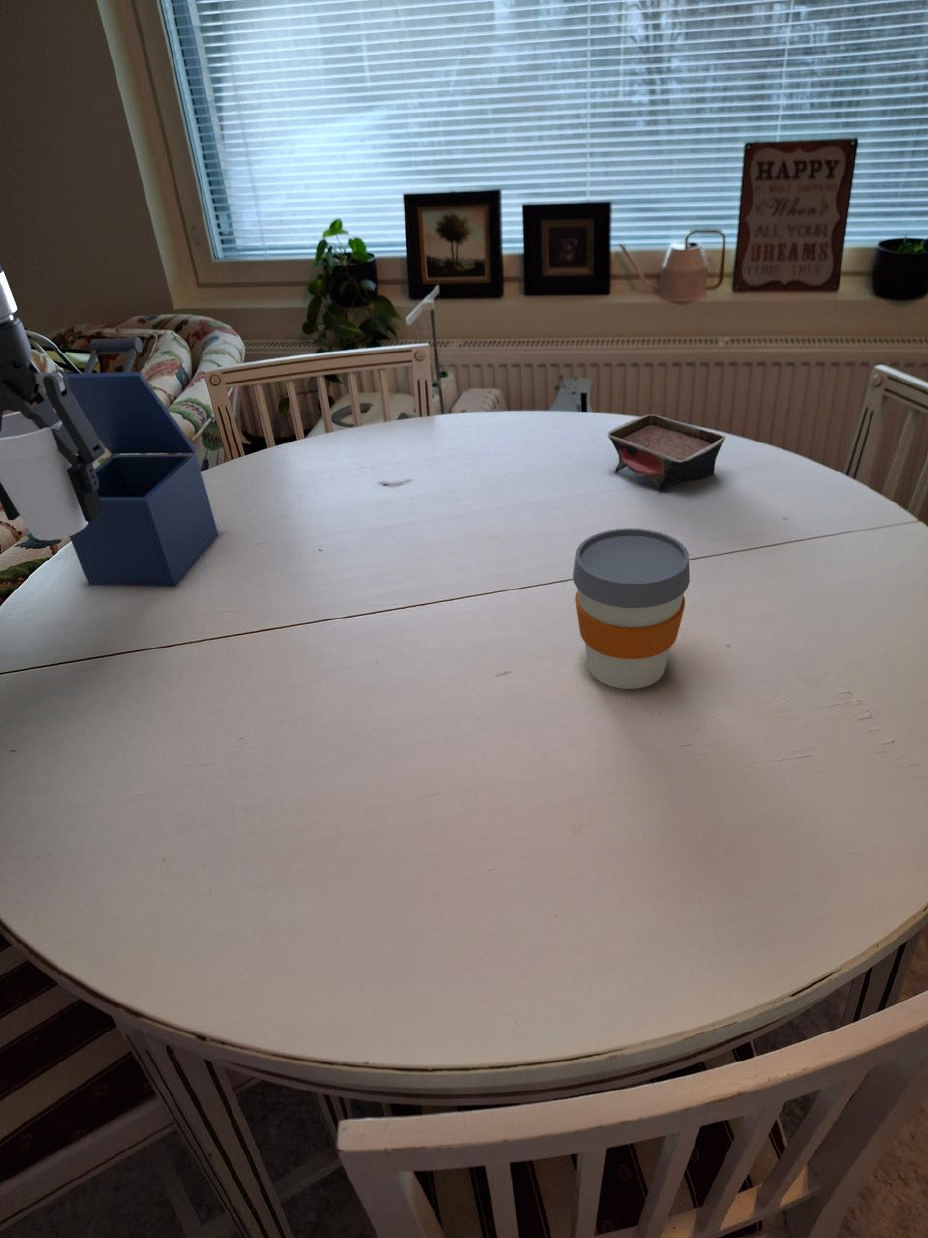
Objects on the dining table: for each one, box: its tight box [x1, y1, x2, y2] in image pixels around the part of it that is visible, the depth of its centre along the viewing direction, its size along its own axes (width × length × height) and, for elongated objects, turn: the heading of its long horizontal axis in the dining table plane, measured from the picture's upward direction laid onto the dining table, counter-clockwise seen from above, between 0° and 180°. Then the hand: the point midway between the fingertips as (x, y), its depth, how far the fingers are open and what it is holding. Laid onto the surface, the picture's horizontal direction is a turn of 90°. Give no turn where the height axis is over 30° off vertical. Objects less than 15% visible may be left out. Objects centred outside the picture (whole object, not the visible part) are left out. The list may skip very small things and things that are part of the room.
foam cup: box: [0, 408, 88, 541], centre depth 93 cm, size 10×9×13 cm
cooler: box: [69, 453, 219, 587], centre depth 122 cm, size 16×14×14 cm
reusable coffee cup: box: [572, 527, 691, 690], centre depth 90 cm, size 13×13×15 cm
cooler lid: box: [66, 337, 197, 455], centre depth 118 cm, size 17×14×9 cm
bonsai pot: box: [606, 413, 727, 491], centre depth 135 cm, size 14×18×10 cm
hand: (55, 515), depth 95 cm, fingers closed on foam cup, 9 cm apart
